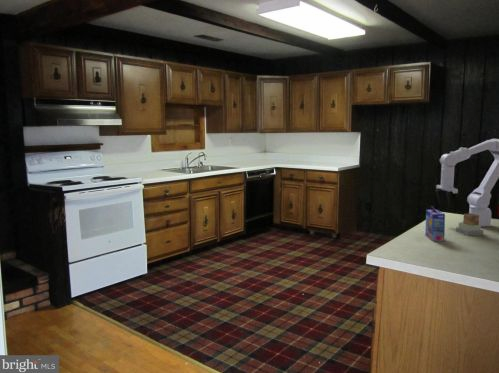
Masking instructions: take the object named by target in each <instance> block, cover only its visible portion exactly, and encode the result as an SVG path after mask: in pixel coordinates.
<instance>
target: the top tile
mask: <svg viewBox="0 0 499 373" xmlns="http://www.w3.org/2000/svg"><path fill="white" fill-rule="evenodd" d="M457 227H458V228H460V229H464V230H467V231H476V230H482V228H481V225H480V224H479V225H467V224H464V223H463V221H461V222H458V226H457Z"/></svg>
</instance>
